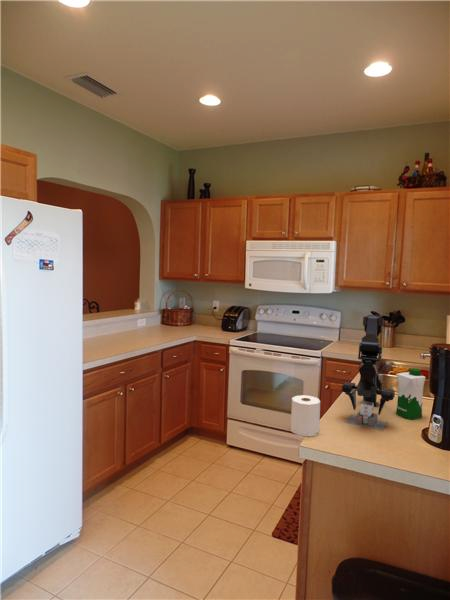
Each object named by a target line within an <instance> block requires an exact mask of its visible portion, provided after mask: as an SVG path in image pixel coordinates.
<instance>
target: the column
mask: <svg viewBox="0 0 450 600" xmlns="http://www.w3.org/2000/svg"><path fill="white" fill-rule="evenodd" d="M362 401H363V400H362ZM362 401H361V402H362ZM361 402H360V410H359V411H360V416H363V419H362V423H363V424H365V425H366V424H367V418H368V417H369V418H372V417H373V413H374V408H375V407H374V403H372V402H367V401H363V402H362V403H361Z"/></svg>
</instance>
